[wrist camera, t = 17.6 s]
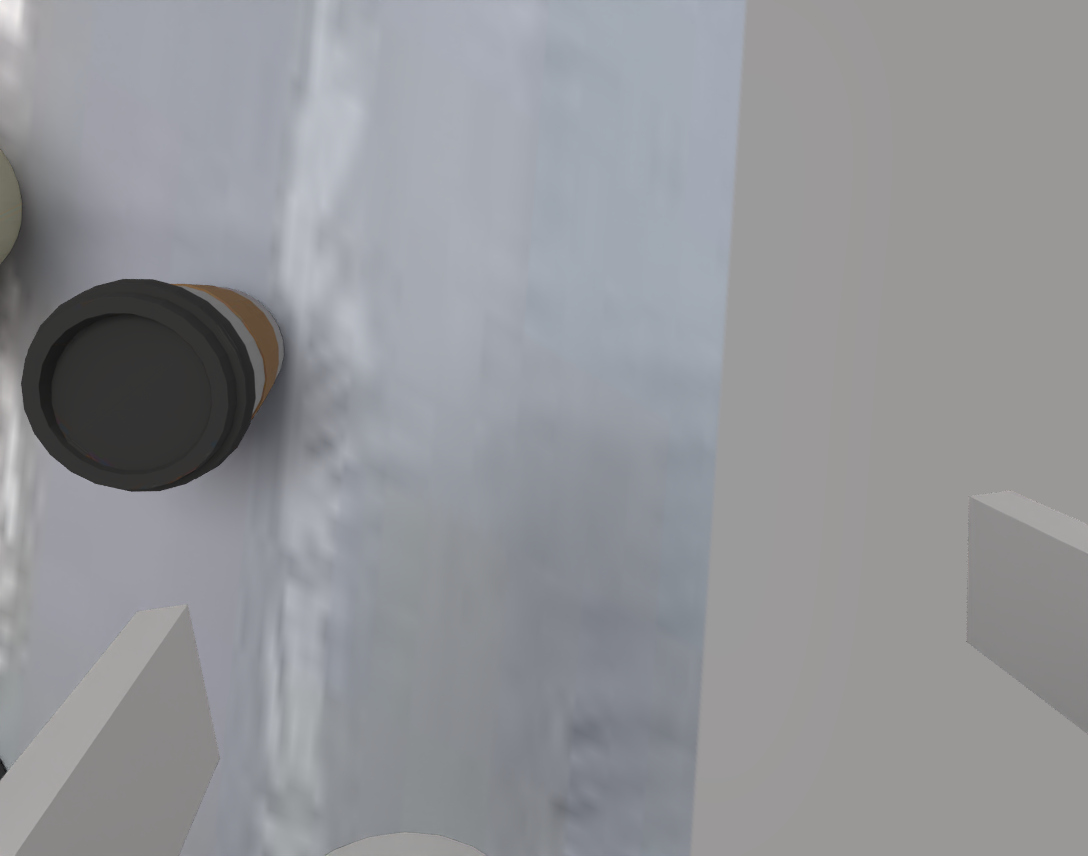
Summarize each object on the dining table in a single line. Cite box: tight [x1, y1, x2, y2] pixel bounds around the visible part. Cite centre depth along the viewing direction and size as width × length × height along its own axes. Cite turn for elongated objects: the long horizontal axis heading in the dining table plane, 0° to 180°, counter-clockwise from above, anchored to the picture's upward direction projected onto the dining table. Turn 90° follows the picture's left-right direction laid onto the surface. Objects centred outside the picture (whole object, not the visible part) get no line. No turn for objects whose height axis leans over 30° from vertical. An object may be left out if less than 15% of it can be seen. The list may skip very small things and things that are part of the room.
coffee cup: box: [21, 279, 284, 492], centre depth 39 cm, size 8×8×15 cm
